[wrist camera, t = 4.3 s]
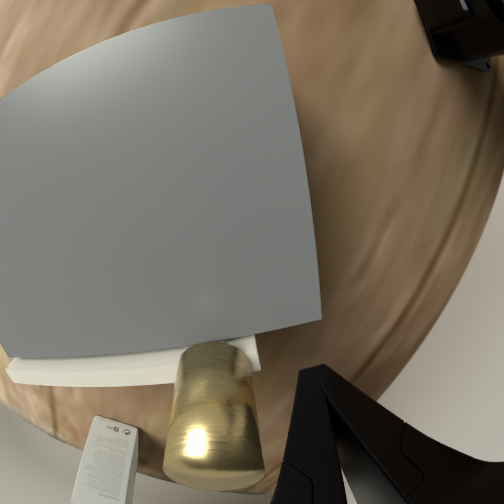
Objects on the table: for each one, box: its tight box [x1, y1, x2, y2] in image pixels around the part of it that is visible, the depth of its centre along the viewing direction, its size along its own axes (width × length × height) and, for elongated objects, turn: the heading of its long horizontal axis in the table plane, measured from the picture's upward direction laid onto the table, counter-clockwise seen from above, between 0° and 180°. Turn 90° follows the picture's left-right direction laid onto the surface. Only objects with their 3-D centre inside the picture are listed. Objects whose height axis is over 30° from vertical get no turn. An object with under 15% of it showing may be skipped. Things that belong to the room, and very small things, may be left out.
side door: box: [5, 334, 265, 491], centre depth 10 cm, size 12×2×11 cm, turn 100°
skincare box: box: [70, 415, 138, 504], centre depth 14 cm, size 6×4×12 cm
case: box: [0, 4, 322, 358], centre depth 10 cm, size 14×10×6 cm
